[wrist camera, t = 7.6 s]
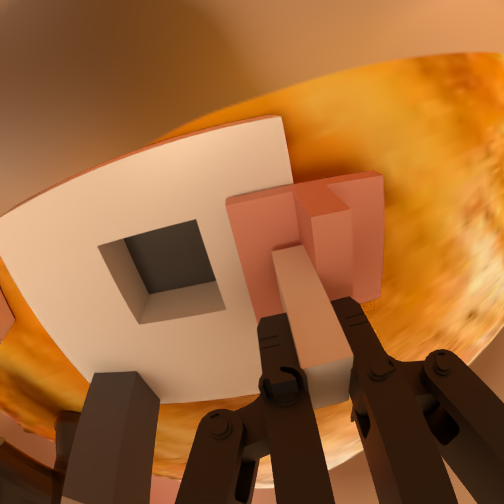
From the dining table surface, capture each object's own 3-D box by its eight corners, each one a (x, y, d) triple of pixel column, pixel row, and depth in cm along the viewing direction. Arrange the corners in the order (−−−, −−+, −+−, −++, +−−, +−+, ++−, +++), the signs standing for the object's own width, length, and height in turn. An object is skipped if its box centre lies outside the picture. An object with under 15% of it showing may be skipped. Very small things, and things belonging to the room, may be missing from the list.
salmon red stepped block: (257, 316, 17) (264, 368, 13) (225, 198, 13) (224, 236, 9) (373, 288, 16) (401, 331, 13) (373, 170, 13) (418, 196, 9)
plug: (120, 400, 22) (99, 518, 11) (94, 372, 19) (60, 504, 8) (160, 399, 21) (148, 530, 10) (136, 370, 19) (110, 521, 8)
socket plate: (117, 377, 25) (110, 404, 22) (13, 206, 15) (-13, 225, 12) (308, 351, 24) (316, 381, 21) (270, 114, 15) (281, 116, 11)
